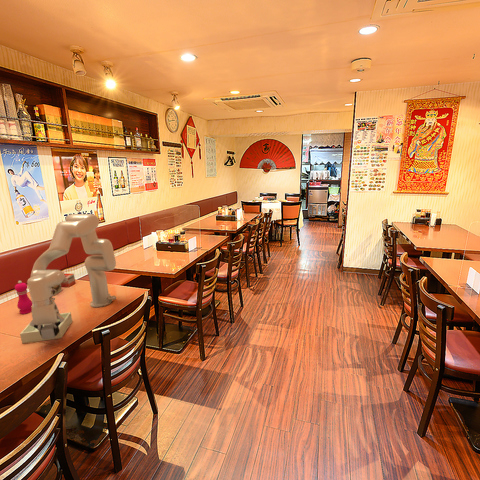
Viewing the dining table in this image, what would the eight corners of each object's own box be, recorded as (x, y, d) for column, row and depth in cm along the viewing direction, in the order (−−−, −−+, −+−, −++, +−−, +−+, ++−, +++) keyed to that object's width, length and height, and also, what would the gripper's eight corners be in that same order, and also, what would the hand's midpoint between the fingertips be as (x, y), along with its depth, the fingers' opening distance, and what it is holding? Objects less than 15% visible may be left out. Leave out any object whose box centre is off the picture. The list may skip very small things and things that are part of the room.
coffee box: (54, 296, 191) (49, 273, 187) (44, 296, 191) (40, 274, 187) (62, 290, 200) (58, 269, 196) (53, 290, 200) (49, 269, 196)
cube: (58, 331, 140) (56, 323, 139) (54, 337, 136) (52, 328, 134) (46, 333, 139) (44, 324, 138) (42, 339, 135) (40, 330, 133)
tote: (72, 321, 159) (70, 312, 157) (61, 338, 142) (59, 328, 141) (37, 325, 155) (35, 316, 153) (22, 343, 139) (19, 333, 137)
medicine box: (49, 287, 206) (47, 277, 204) (57, 283, 214) (55, 273, 212) (69, 287, 205) (67, 277, 203) (76, 283, 213) (74, 273, 211)
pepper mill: (25, 315, 166) (18, 283, 162) (15, 314, 168) (8, 282, 163) (36, 309, 173) (30, 278, 168) (27, 308, 175) (20, 278, 170)
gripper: (65, 295, 138) (72, 328, 143) (25, 300, 134) (34, 333, 139) (59, 302, 131) (67, 336, 136) (17, 307, 127) (26, 342, 132)
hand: (50, 334), depth 137 cm, fingers closed on cube, 5 cm apart
